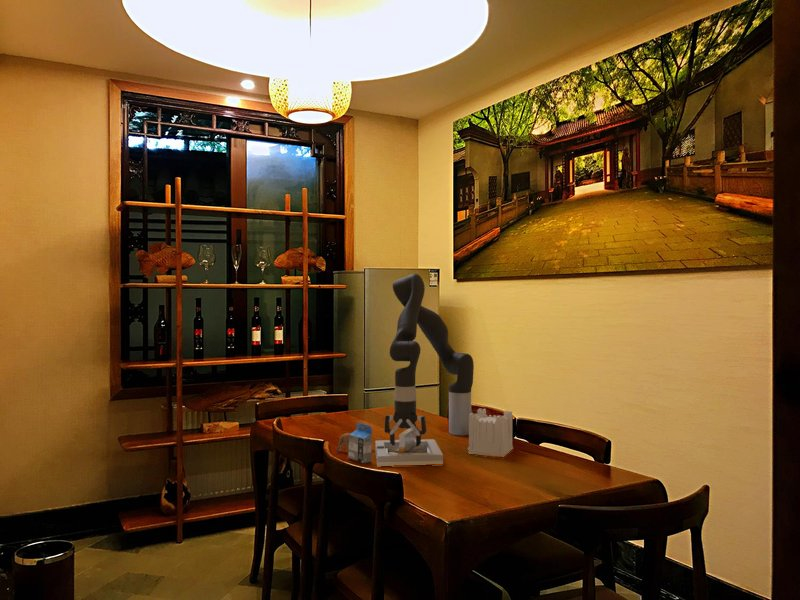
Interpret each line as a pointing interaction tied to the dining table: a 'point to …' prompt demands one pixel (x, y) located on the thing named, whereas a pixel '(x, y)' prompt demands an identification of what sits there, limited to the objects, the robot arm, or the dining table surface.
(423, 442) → the housing
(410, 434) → the dial
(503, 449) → the castle model
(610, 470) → the dining table surface
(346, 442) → the lion figurine
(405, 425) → the robot arm
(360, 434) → the label tape box
